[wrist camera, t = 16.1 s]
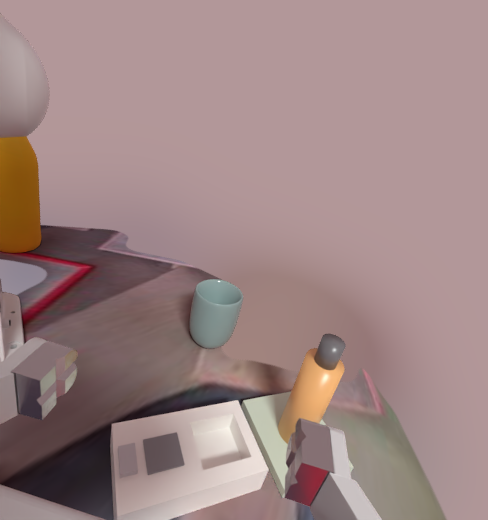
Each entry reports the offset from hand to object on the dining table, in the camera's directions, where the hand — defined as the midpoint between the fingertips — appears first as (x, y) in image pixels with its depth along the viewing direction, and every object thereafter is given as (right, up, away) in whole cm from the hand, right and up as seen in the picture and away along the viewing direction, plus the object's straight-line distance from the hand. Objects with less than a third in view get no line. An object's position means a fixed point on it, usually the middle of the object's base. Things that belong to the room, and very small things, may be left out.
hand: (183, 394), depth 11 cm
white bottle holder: (-5, -18, +24) cm, 31 cm away
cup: (-4, -9, +44) cm, 46 cm away
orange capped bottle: (+9, -18, +30) cm, 36 cm away
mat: (+8, -19, +31) cm, 37 cm away
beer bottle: (-47, +8, +58) cm, 75 cm away
